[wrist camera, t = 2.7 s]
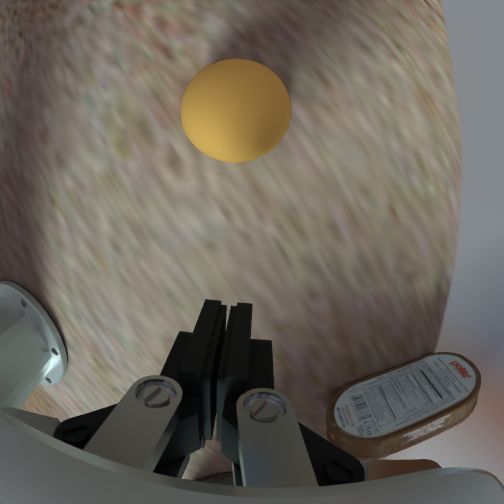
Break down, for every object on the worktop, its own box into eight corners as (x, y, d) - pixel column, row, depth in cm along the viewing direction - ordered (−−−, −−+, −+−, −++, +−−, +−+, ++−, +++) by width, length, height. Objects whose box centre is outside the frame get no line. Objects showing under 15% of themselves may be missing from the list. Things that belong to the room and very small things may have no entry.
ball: (189, 161, 18) (162, 159, 12) (197, 76, 16) (175, 42, 11) (280, 167, 18) (293, 166, 12) (287, 81, 16) (302, 47, 11)
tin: (319, 406, 24) (336, 475, 16) (316, 385, 23) (334, 459, 15) (450, 359, 23) (490, 407, 15) (454, 336, 22) (500, 384, 14)
